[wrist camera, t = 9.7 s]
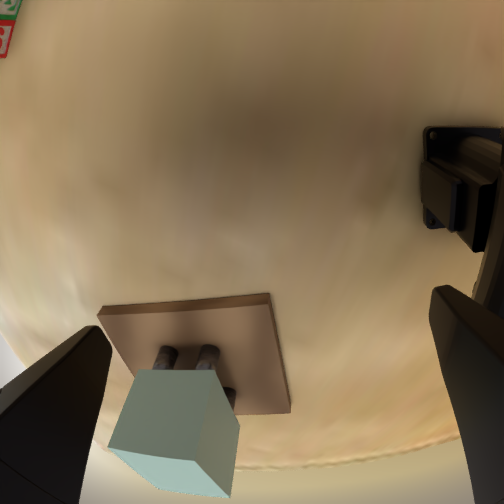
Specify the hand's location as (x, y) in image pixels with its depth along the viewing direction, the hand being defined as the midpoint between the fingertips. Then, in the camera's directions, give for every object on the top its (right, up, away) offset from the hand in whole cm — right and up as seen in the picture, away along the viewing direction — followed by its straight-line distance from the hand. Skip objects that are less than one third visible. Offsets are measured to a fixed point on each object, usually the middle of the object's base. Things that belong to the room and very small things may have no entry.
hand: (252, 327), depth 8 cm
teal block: (-5, -10, +15) cm, 19 cm away
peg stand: (-4, -8, +19) cm, 21 cm away
